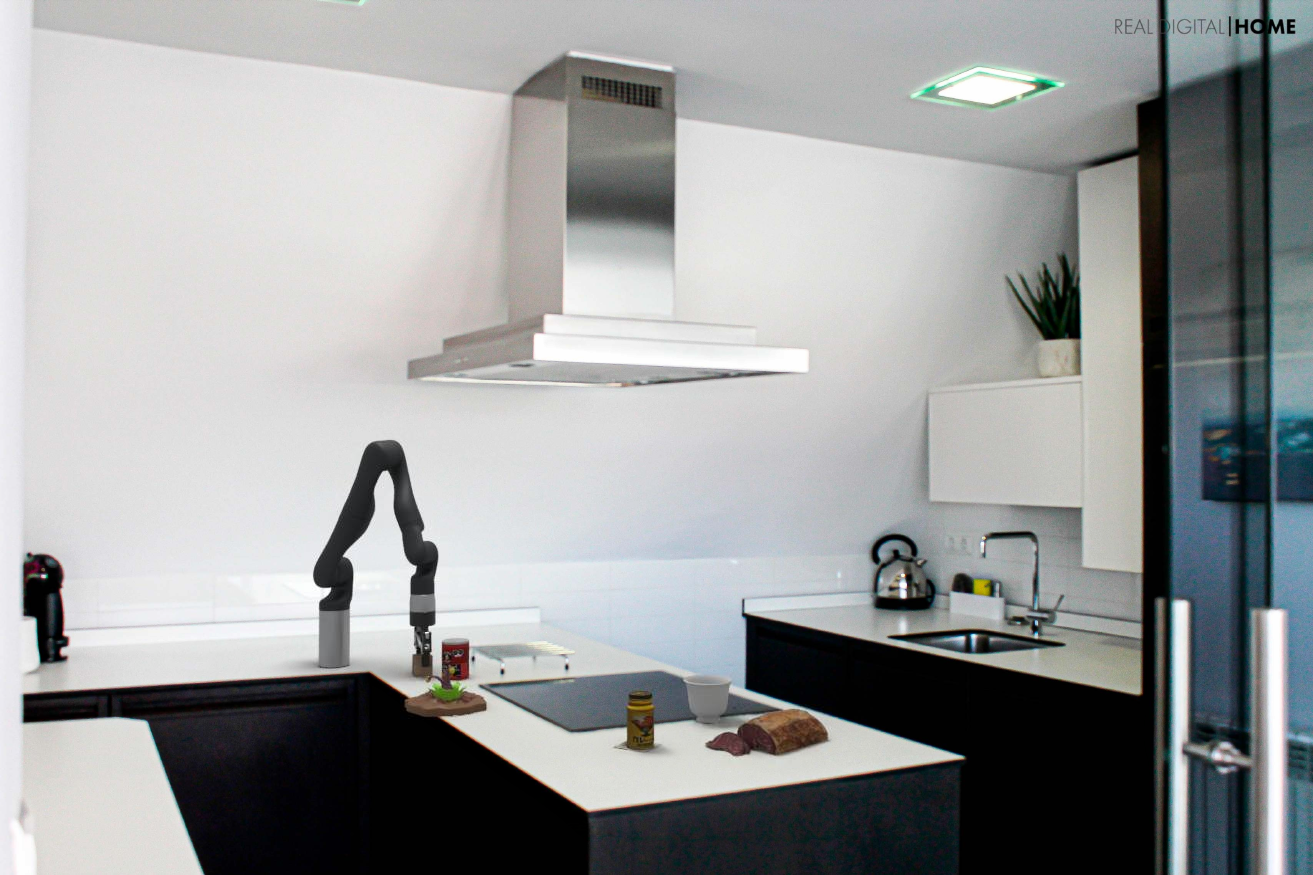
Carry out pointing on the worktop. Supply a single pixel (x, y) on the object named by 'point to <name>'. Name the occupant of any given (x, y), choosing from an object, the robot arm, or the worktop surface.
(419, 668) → the walnut block
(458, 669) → the canned food
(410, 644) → the worktop surface
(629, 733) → the condiment
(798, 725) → the cured meat
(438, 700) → the plant
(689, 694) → the teacup
